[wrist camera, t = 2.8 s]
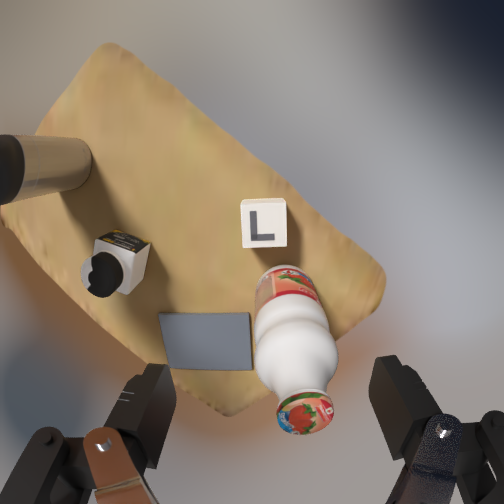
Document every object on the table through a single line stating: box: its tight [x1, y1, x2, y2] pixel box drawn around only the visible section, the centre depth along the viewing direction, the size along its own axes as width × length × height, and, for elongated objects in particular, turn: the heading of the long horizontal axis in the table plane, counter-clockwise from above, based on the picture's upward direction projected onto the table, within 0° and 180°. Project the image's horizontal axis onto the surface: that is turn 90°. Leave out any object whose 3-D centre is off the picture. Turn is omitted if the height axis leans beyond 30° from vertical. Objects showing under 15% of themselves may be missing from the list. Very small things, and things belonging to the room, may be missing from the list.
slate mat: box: [158, 313, 252, 370], centre depth 51 cm, size 16×12×1 cm
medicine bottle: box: [81, 230, 151, 298], centre depth 42 cm, size 7×7×12 cm
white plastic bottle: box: [254, 265, 338, 435], centre depth 35 cm, size 9×9×28 cm
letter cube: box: [241, 198, 287, 248], centre depth 42 cm, size 6×6×6 cm
